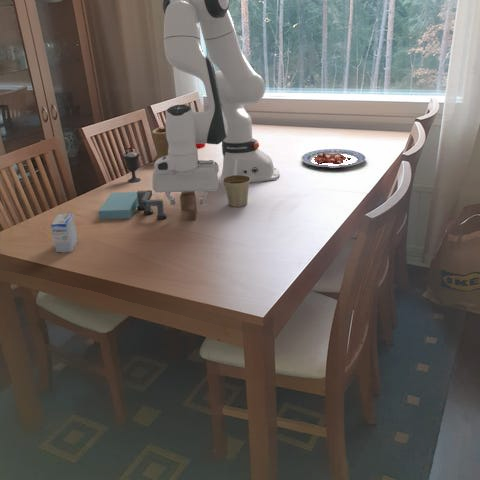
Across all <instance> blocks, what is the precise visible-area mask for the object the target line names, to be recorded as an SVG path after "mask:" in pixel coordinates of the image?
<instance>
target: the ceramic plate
mask: <svg viewBox="0 0 480 480" xmlns="http://www.w3.org/2000/svg"><path fill="white" fill-rule="evenodd" d="M341 154H347V155H351V156H354V157H356V158H357V159H358V160H357V161H356V162H355V163H352V164H348V165H339V166H328V165H319V164H322V163H333V164H341V163H343V160H345V159H346V157H344V156H343V155H341ZM316 156H317V157H316ZM312 158H315V159H314V160H315V162H317V163H318V164H314V163H312V162H311V160H312ZM366 158H367V157H366V156H365V155H364V153H361V152H359V151H357V150H356V151H355V150H351V149H341V148H327V149H325V148H324V149H317V150H312V151H308V152H305V153H304V154H303V155H302V156H301V158H300V159H301V161H302V162H303V163H305V164H307V165H310V166H315V167H318V168H324V167H343V168H347V167H353V166H357V165H359V164H362V163H364V162H365V161H366ZM347 159H348V160H350V159H351V158H348V157H347ZM346 161H347V160H346Z"/></svg>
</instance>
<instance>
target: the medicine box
mask: <svg viewBox="0 0 480 480" xmlns="http://www.w3.org/2000/svg"><path fill="white" fill-rule="evenodd" d="M75 223H76V222H75V218H74V214H73V213H61V214H57V215H56V217H55V219H54V220H53V222H52V223H51V225H50V227H51V232H52V236H53V241H54V246H55V251H56V253H57V252H63V253H72V252H73V251H74V248H75V246H76V244H77V242H78V240H79V239H78V233H77V227H76V224H75Z"/></svg>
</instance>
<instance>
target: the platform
mask: <svg viewBox="0 0 480 480" xmlns="http://www.w3.org/2000/svg"><path fill="white" fill-rule="evenodd" d="M137 206H139V204H138V197H137V191H127V192H110V194H109V196H108V197H107V199H105V201H104V203H103V204H101V206H100V208H99V209H98V212H97V213H98V218H99V220H100V221H102V220H129V219H131V218H132V217H133V215H134V214H135V212H136V210H137Z"/></svg>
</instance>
